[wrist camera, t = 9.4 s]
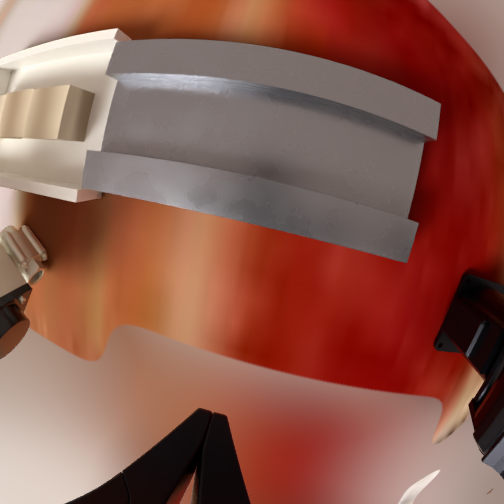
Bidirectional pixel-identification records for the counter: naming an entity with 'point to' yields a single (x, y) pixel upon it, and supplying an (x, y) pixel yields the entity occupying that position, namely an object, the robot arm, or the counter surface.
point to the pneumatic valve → (17, 282)
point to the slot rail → (265, 140)
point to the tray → (58, 151)
